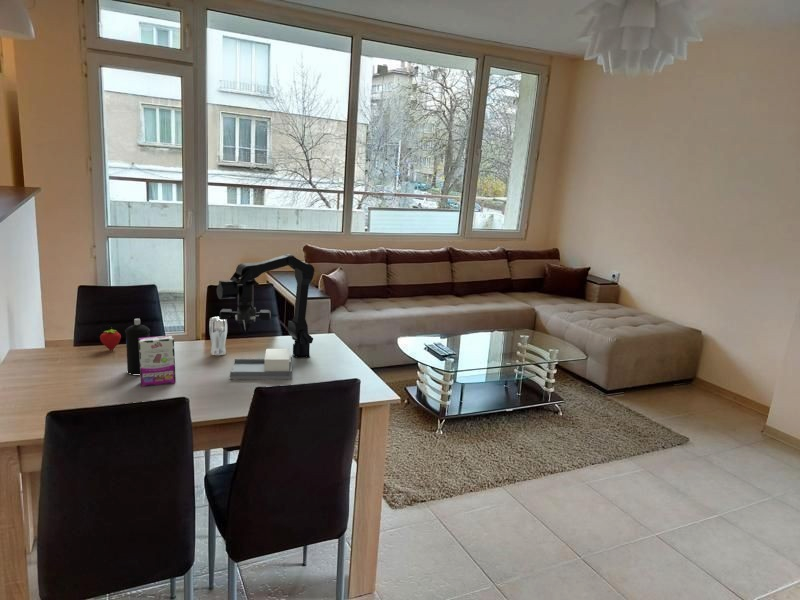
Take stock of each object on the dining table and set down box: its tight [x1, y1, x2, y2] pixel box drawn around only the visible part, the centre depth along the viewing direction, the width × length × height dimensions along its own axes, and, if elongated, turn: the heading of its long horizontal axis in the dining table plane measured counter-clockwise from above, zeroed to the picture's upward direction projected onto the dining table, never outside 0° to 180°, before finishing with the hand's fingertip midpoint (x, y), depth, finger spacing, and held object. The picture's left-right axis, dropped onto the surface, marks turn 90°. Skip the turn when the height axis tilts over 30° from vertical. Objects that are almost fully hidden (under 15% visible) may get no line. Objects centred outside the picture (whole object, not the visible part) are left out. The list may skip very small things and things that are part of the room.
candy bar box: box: [139, 334, 177, 387], centre depth 185 cm, size 11×5×16 cm, turn 117°
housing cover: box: [263, 348, 291, 371], centre depth 204 cm, size 9×13×6 cm
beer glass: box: [208, 316, 228, 357], centre depth 219 cm, size 7×7×15 cm
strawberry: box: [99, 328, 122, 351], centre depth 215 cm, size 6×8×10 cm
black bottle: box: [124, 318, 151, 374], centre depth 194 cm, size 8×8×20 cm
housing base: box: [229, 356, 293, 380], centre depth 204 cm, size 22×16×3 cm
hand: (245, 335), depth 207 cm, fingers closed
